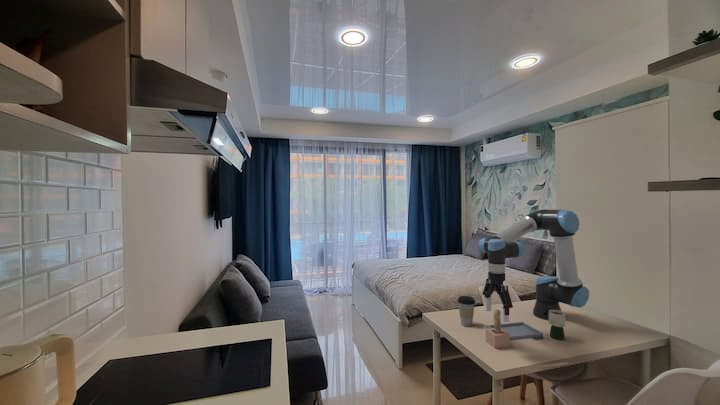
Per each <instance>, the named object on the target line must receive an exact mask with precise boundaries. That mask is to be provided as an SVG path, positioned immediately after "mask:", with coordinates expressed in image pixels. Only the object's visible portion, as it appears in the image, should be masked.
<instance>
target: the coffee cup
mask: <svg viewBox="0 0 720 405" xmlns="http://www.w3.org/2000/svg"><path fill="white" fill-rule="evenodd" d="M457 302H458V311H459V317H460V325H462V327H467V328H470V327H472V326H473V322H474V321H473V319H474V314H475V313H474V312H475V304H476V300H475V298H474V297H472V296H469V295H461V296H459V297H458V298H457Z"/></svg>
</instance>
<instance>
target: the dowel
mask: <svg viewBox="0 0 720 405" xmlns="http://www.w3.org/2000/svg"><path fill="white" fill-rule="evenodd" d="M501 312H502V311H501V310H499V309H493V325H494V333H495V334H500V333H501V324H502V322H501V320H502V317H501Z"/></svg>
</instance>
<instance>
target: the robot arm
mask: <svg viewBox="0 0 720 405" xmlns="http://www.w3.org/2000/svg"><path fill="white" fill-rule="evenodd" d="M579 226H580V219H579V216H578V215H577V214H576V213H575V212H574V211H572V210H569V209H568V210H566V209H538V210H535V211H533V212H531V213H529V214H526V215H525V216H523V217H522V218H521V219H520V221H518V222H516V223H514V224H512V225H511V226H509V227H507V228H505V229H504V230H502V231H499V233H497V234H495V235H494V236H491V237H489V238H487V237H485V238H481V239H480V240H479V242H478V249H479V251H481V252H482V253H486V254H487V260H488V261H487V262H488V263H487V268H488V272H487V276H488V278H486V279H485V285H484V288H483V291H482V295H483V296H484V297H485V312H492V295H493V293H494V292H495V293H496V294H498V296H499V299H500V302H501V303H502V322H503V323H510V309H513V307H514V306H513V302H512V298H511V295H510V292H509V285H505V284H504V282H505V281H506V273H505V272H506V259H512V258H514V259H516V258H518V257H522V256H523V255H524V254H525V247H524V245H523V244H522V243H521V242H520V241H517V240H518V239H520V238H521V237H524V236H525V235H527V234H529V233H534V232H536V231H540V230H541V231H543V230H544V231H548V232H549V236H550V237H551V238H553V242H554V250H555V256H556V262H557V269H558V276H559V277H557V276H552V275H542V276H538V277H536V280H535V304H534V306H533V309H532V315H534V316H535V317H537V318H540V319H544V320H547V321H549V310H559V311H562V308H561V306H560V303H562V304H563V305H564V304H565V305H567V306H571V307H575V308H583V307H584V306H585V305H586V304H587V302H588V301H589V298H590V290H589V288H588V287H587V286H583V284H584V283H583V281H582V279H580V278H579V274H578V266H577V261H576V260H577V259H576V252H575V246H574V240H573V237H574V236H575V235H576V232H577V231H578V230H579V229H580V228H579Z"/></svg>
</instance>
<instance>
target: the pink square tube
mask: <svg viewBox="0 0 720 405" xmlns="http://www.w3.org/2000/svg"><path fill="white" fill-rule="evenodd" d="M485 342H486V343H488V344H489V345H490V346H491V347H493V349H494V350H495V349H503V348H510V347H511V345H510V343H511V341H510V334H508V333H507V332H506V331H504V330H503V329H501V333H500V334H495V333H494V328H490V329H487V328H485Z"/></svg>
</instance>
